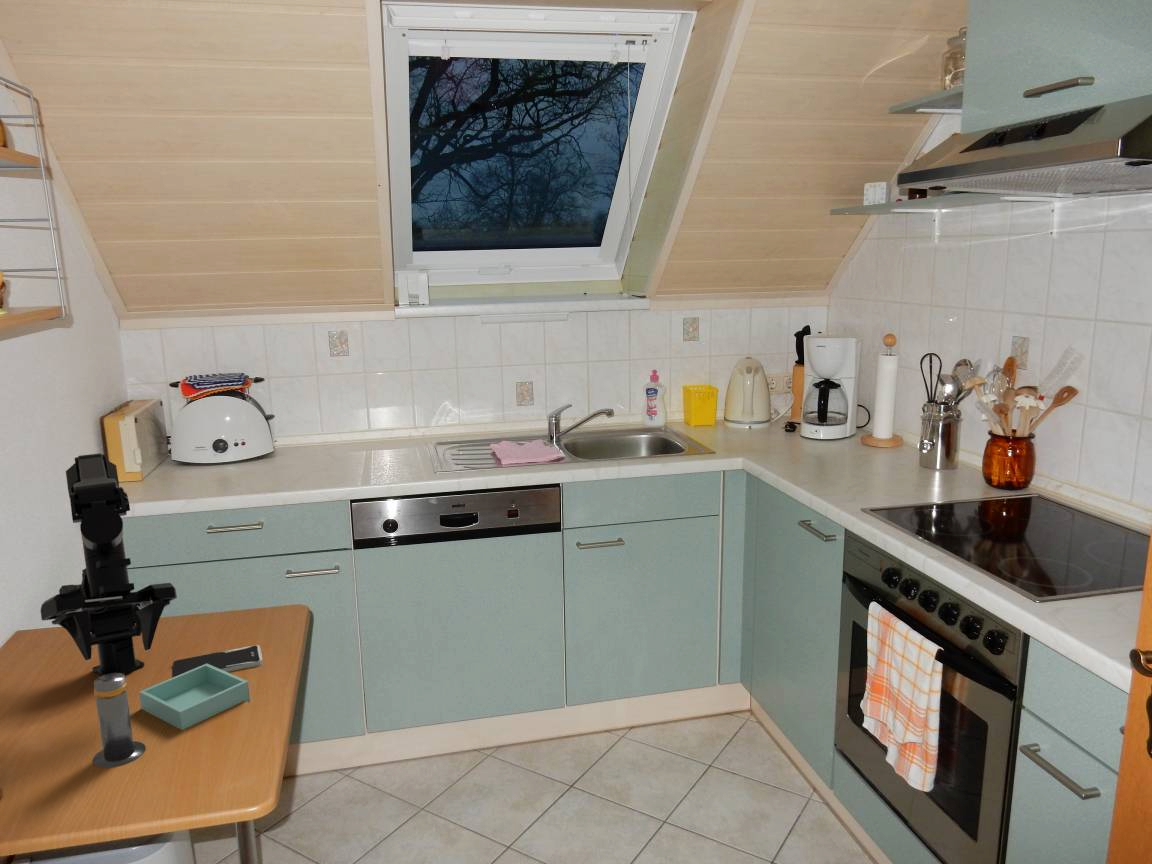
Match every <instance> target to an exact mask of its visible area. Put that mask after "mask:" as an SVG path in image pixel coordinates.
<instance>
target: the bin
mask: <svg viewBox="0 0 1152 864" xmlns="http://www.w3.org/2000/svg"><path fill="white" fill-rule="evenodd" d="M138 692H139V693H138V694H139V701H140V706H141V707H140V708H141V710H143V711H144V712H147V713H149V714H150V715H152V716H154V717H156V718H158V719H160V720H161V721H164V722H166V723H168V724H170V725H171V726H173V727H175V728H177V729H180V731H184V730H186V729H188V728H190V727H192V726H195V725H197V724H199V723H200V722H203V721H205V720H206V719H208V718H211V717H213V716H215V715H217V714H220V713H222V712H224V711H226V710H228V709H230V708H233V707H234V706H237V705H238V704H240V703H243V702H246V703H250V702H251V697H250V696H251V695H250V694H251V693H250V687H249V680H247V679H243V678H241V677H240V676H237V675H234V674H232V673H230V672H225V671H223V670H221V669H218V668H216V667H214V666H212V665H209V664H204V665H202V666H200V667H197V668H195V669H192V670H190V671H188V672H185V673H183V674H180V675H178V676H176V677H173V676H172V677H171V678H169V679H167V680H164V681H162V682H159V683H157V684H154V685H153V686H149V687H148V688H145V689H143V690H140V691H138Z"/></svg>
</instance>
